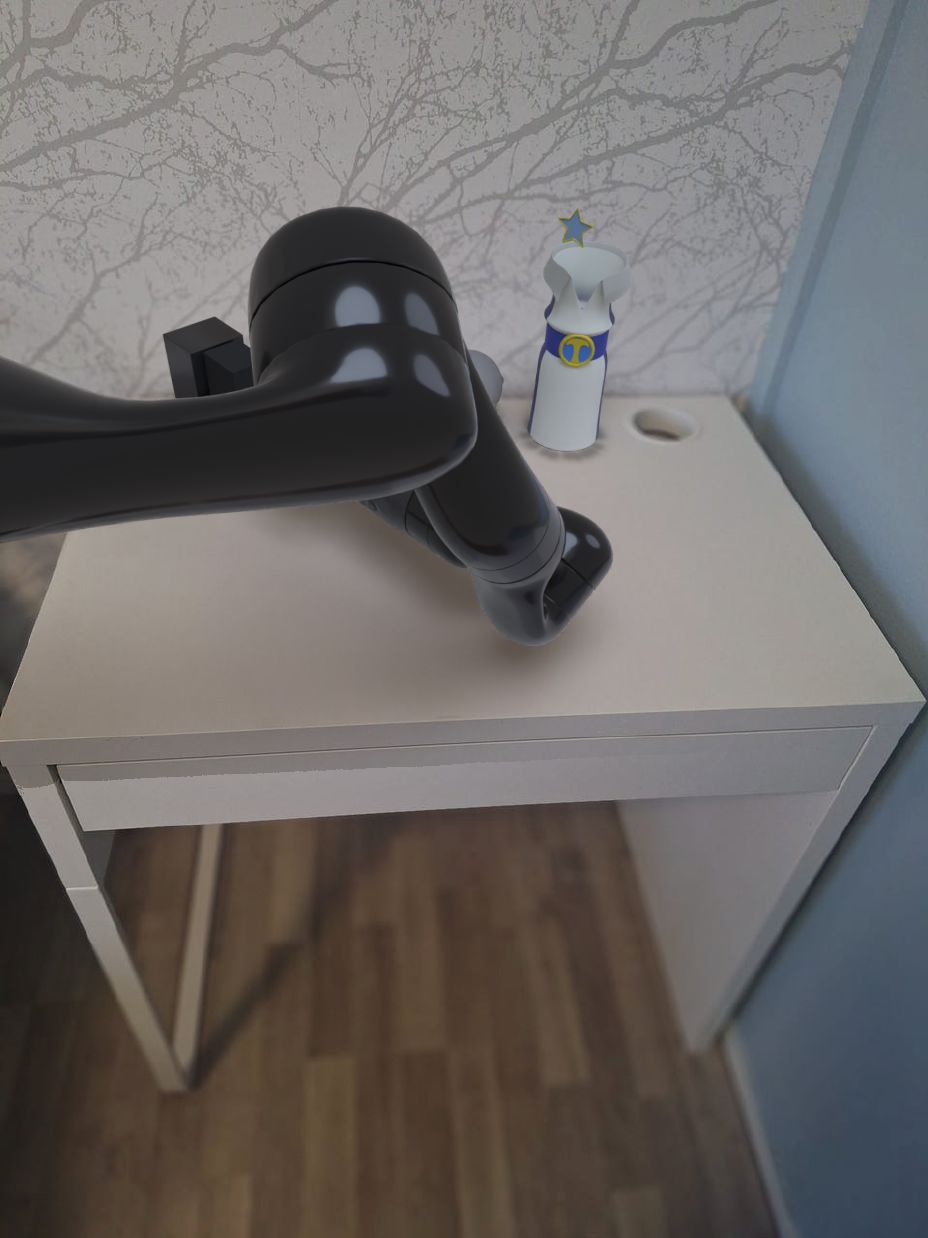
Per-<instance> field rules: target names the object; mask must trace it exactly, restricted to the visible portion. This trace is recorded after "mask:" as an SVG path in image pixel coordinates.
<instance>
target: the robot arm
mask: <svg viewBox="0 0 928 1238" xmlns="http://www.w3.org/2000/svg"><path fill="white" fill-rule="evenodd" d="M443 265H444V264H443V263H442V261H441V259H440V257H439V256H438V254H437V253H436V251H435V250H434V248H433V247H432V246H431V244H429V242H428V241H427V240H426V239H425V238H424V237H423V236H422V235H421V234H420V233H419V232H418V231H417V230H416V229H414V228H413V227H411V226H410V225H408V224H407V223H405V222H404V221H403V220H401V219H399V218H397V217H394V216H392V215H390V214H387V213H385V212H383V211H380V210H376V209H371V208H367V207H362V206H349V205H348V206H346V205H345V206H344V205H340V206H332V207H326V208H319V209H316V210H313V211H310V212H307V213H304V214H301V215H299V216H297V217H295V218H293V219H291V220H289V221H288V222H287V223H284V224H283V225H282V226H280V227H279V228H278V229H277V230H276V231H275V232H274V233H272V234H271V235H270V236H269V237H268V239H267V240H266V241H265V243H264V244H263V245H262V247H261V248H260V250H259V252H258V254H257V256H256V258H255V260H254V264H253V266H252V268H251V273H250V278H249V286H248V295H247V325H248V338H249V340H248V341H249V347H250V350H251V361H252V371H253V382H254V387H250V388H247V389H243V390H239V391H234V392H229V393H224V394H219V395H212V396H204V397H193V398H177V399H175V398H161V399H133V398H132V399H130V398H129V399H128V398H123V397H119V396H118V397H117V396H112V395H108V394H104V393H101V392H100V393H99V392H96V391H93V390H89V389H88V388H87V389H86V388H84V387H81V386H78V385H76V384H73V383H70V382H67V381H65V380H62V379H59V378H57V377H55V376H52V375H51V374H50V375H49V374H47V373H45V372H42V371H40V370H37V369H34V368H32V367H30V366H27V365H25V364H23V363H20V362H18V361H15V360H14V359H11V358H7V357H5V356H3V355H0V544H5V543H10V542H16V541H22V540H28V539H32V538H39V537H45V536H51V535H57V534H64V533H69V532H75V531H82V530H87V529H93V528H101V527H107V526H115V525H122V524H129V523H134V522H143V521H151V520H159V519H160V520H161V519H168V518H169V519H170V518H181V517H182V518H183V517H192V516H203V515H204V516H205V515H206V516H207V515H219V514H231V513H232V514H233V513H243V512H254V511H255V512H256V511H267V510H280V509H291V508H304V507H315V506H326V505H334V504H335V505H336V504H346V503H347V504H348V503H354V502H358V503H360V504H361V505H362V506H364V507H365V508H367V509H368V510H369V511H370V512H372V513H373V514H374V515H376V516H377V517H379V518H380V519H382V521H384V522H386V523H387V524H388V525H390V526H391V527H393V528H395V529H397V530H399V531H400V532H401V533H402V532H403V533H404V534H407V535H408V536H409V537H411V538H413V539H414V540H416V541H417V542H418V543H419V544H421V545H423V546H424V547H425V548H426V549H427V550H429V551H431V552H432V553H433V554H435V555H436V556H437V557H438V558H440V559H441V560H443V561H444V562H446V563H447V564H448V565H451V566H453V567H455V568H458V569H462V570H463V569H465V570H466V569H469V572H470V575H471V576H470V577H471V581H472V584H473V589H474V593H475V596H476V599H477V601H478V603H479V606H480V609H481V610H482V612H483V613H484V615H485V616H486V618H487V619H488V620H489V622H490V623H491V625H492V626H494V628H495V629H496V630H497V631H498V632H500V633H501V634H502V635H503V636H505V638H507V639H509V640H511V641H512V642H514V643H516V644H519V645H521V646H527V647H540V646H544V645H548V644H550V643H552V642H553V641H555V640H556V639H557V638H559V636H560V635H562V634H563V633H564V631H565V630H566V628H567V627H568V626H569V624H570V623H571V622H572V620H573V619H574V617H576V616H577V614H578V613H579V612H580V610H581V609H582V608H583V606H584V605H585V604H586V603H587V601H588V600H589V599H590V597H591V596H592V594H593V593H594V591H596V590H597V589H598V587H599V586H600V584H601V583H602V582H603V581H604V580H605V578H606V576H607V575H608V574H609V572H610V570H611V568H612V566H613V562H614V549H613V547H612V543H611V541H610V539H609V538H608V535H607V534H606V533H605V531H604V530H603V528H601V526H600V525H599V524H597V523H596V522H595V521H593V519H591V518H589V517H587V516H586V515H584V514H582V513H579V512H577V511H575V510H572V509H569V508H566V507H563V506H560V505H557V504H555V502H554V500H553V499H552V498H551V496H550V495H549V493H548V492H547V490H546V489H545V487H544V486H543V484H542V483H541V481H540V480H539V478H538V477H537V475H536V474H535V472H534V471H533V469H532V468H531V466H530V465H529V463H528V462H527V460H526V459H525V457H524V455H523V454H522V452H521V451H520V449H519V446H518V445H517V443H516V442H515V441H514V439H513V437H512V435H511V434H510V432H509V430H508V429H507V426H506V425H505V422H503V419H502V417H501V416H500V414H499V412H498V410H497V408H495V406H494V404H493V402H492V401H491V399H490V397H489V395H488V393H487V391H486V389H485V387H484V384H483V382H482V380H481V378H480V376H479V374H478V371H477V369H476V367H475V365H474V362H473V360H472V358H471V355H470V353H469V350H470V349H469V348H468V345H467V343H466V341H465V338H464V336H463V331H462V327H461V326H462V325H461V322H460V318H459V309H458V305H457V301H456V296H455V293H454V290H453V288H452V284H451V281H450V279H449V277H448V274H447V272H446V269H445V267H444V266H443Z"/></svg>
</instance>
